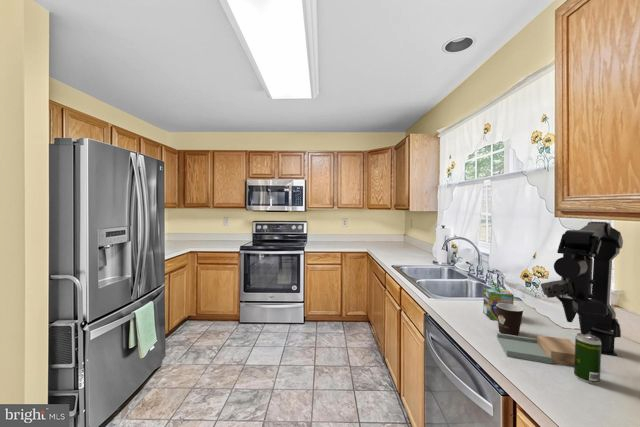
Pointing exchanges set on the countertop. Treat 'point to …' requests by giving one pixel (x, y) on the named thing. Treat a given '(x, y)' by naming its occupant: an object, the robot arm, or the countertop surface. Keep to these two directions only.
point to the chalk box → (495, 300)
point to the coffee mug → (508, 318)
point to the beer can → (587, 358)
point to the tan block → (558, 349)
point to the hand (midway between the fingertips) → (576, 327)
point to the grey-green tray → (522, 348)
